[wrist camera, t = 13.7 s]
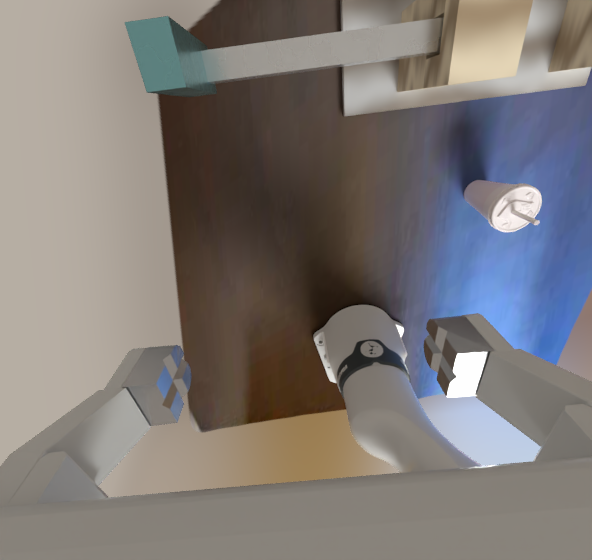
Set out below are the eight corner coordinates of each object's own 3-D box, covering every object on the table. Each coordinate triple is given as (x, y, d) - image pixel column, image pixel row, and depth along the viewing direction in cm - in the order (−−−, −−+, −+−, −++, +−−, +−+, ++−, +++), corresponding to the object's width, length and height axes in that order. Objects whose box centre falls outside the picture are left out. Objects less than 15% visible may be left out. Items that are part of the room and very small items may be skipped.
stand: (577, 86, 39) (722, 75, 26) (343, 116, 40) (370, 119, 27) (618, -39, 33) (834, -135, 20) (340, 0, 34) (373, -66, 21)
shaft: (442, 63, 30) (514, 42, 21) (189, 97, 31) (146, 92, 22) (449, 12, 28) (531, -37, 19) (177, 50, 29) (124, 22, 19)
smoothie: (453, 180, 45) (513, 205, 33) (496, 164, 44) (574, 185, 32) (456, 216, 48) (513, 252, 36) (496, 202, 47) (568, 235, 35)
